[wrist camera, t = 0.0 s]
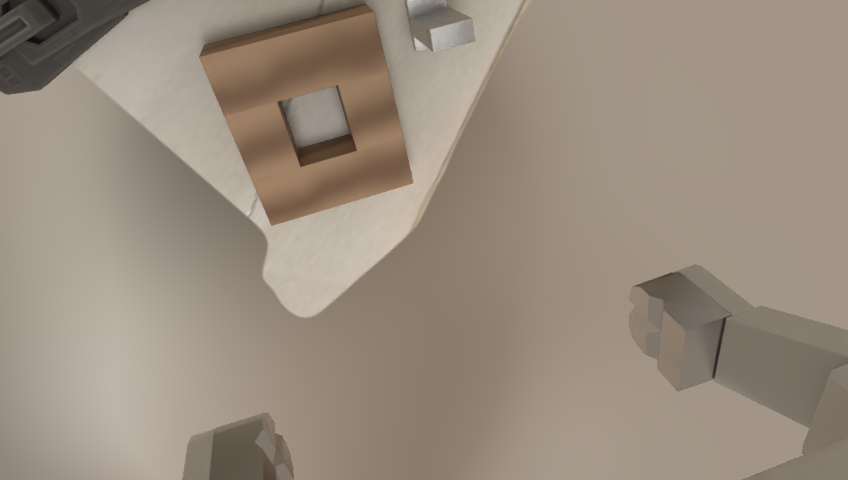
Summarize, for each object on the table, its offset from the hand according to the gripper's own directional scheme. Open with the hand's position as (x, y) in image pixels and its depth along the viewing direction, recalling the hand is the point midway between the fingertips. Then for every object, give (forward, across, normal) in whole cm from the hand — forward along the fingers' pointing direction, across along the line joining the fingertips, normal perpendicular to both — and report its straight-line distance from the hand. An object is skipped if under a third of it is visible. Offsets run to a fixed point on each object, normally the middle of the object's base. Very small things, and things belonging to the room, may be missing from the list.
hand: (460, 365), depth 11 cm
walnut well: (+48, +2, +9) cm, 49 cm away
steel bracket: (+48, -12, +3) cm, 50 cm away
